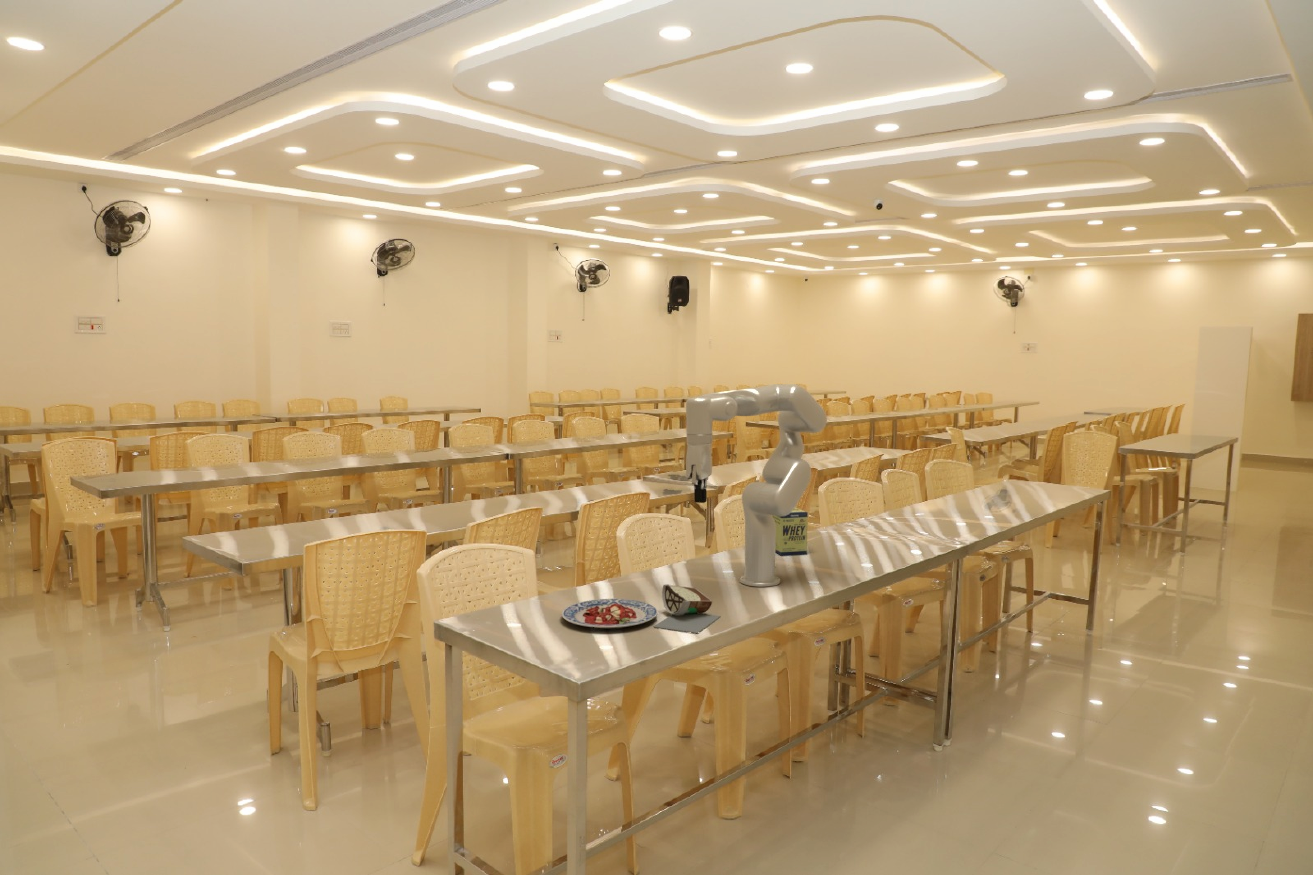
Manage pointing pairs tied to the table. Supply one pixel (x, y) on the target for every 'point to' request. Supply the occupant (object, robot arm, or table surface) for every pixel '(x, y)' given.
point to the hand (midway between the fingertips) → (700, 502)
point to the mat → (687, 622)
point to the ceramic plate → (609, 613)
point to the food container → (684, 600)
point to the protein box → (791, 533)
